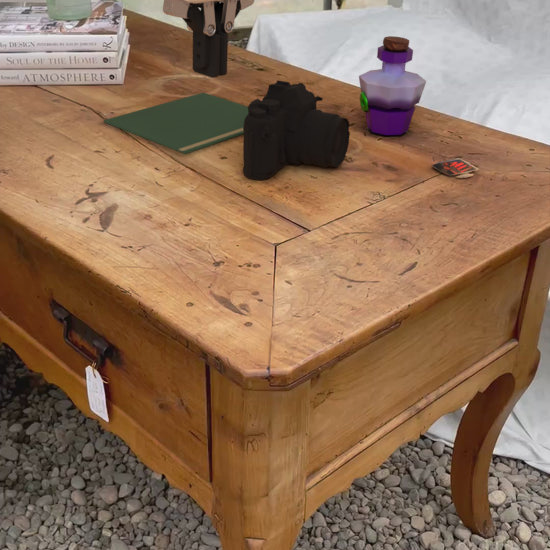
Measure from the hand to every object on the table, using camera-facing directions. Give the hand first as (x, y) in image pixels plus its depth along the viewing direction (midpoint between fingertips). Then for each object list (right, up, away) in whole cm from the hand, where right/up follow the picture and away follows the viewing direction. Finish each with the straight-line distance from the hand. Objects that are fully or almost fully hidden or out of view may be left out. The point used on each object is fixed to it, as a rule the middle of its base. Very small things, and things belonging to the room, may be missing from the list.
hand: (209, 72), depth 76 cm
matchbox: (+28, -8, +15) cm, 32 cm away
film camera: (+9, -7, +16) cm, 20 cm away
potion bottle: (+21, -1, +27) cm, 34 cm away
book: (-4, +1, +28) cm, 28 cm away
